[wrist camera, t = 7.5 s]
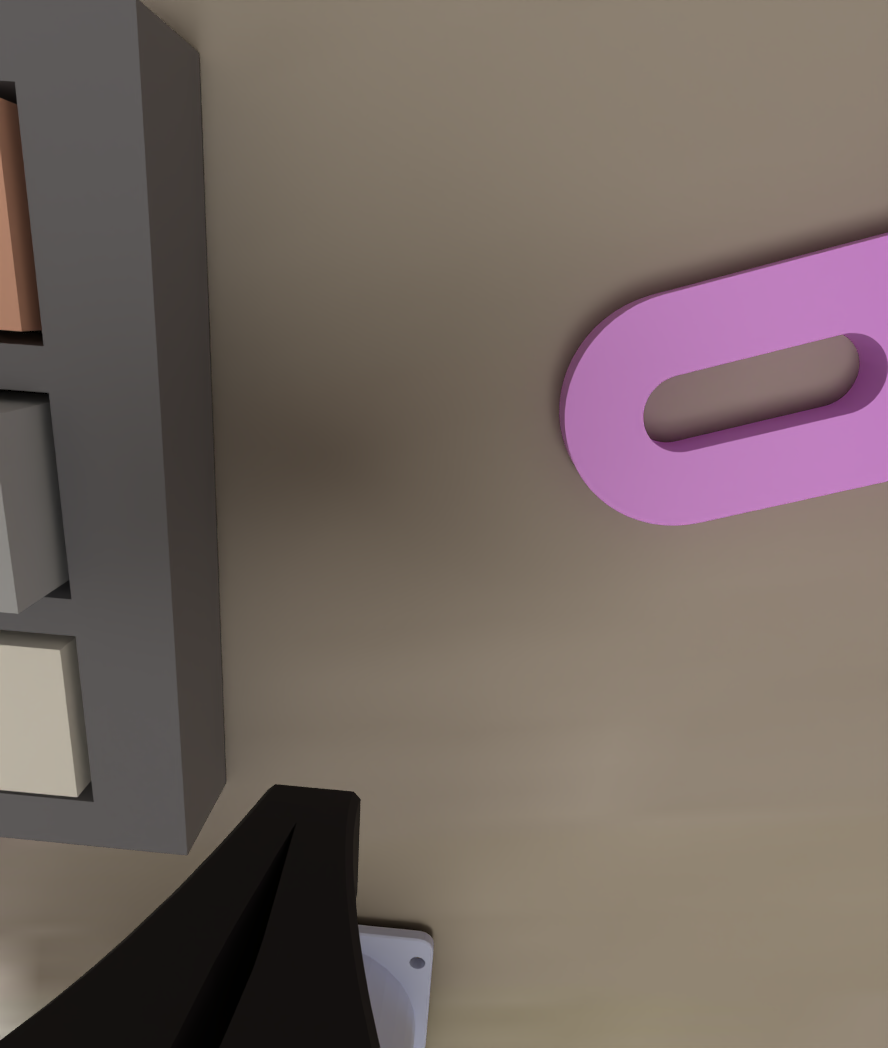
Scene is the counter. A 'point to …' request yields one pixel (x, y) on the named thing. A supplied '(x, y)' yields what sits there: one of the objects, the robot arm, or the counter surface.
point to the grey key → (29, 503)
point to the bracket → (721, 337)
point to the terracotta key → (15, 232)
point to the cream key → (41, 715)
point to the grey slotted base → (122, 412)
